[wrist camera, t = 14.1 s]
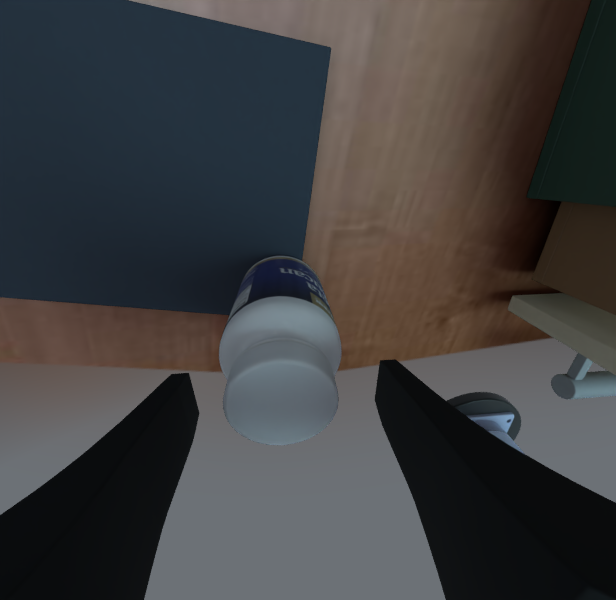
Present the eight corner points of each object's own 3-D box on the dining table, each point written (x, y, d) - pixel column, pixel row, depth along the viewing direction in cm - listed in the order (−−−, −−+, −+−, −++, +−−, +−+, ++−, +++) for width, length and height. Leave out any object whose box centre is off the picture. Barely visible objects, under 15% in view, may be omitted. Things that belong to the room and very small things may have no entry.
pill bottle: (336, 276, 18) (391, 378, 9) (298, 337, 19) (312, 471, 11) (261, 237, 16) (239, 316, 7) (227, 308, 18) (177, 437, 9)
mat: (293, 316, 19) (293, 320, 19) (-105, 285, 16) (-116, 288, 15) (329, 51, 13) (331, 47, 13) (-319, -98, 10) (-349, -111, 9)
